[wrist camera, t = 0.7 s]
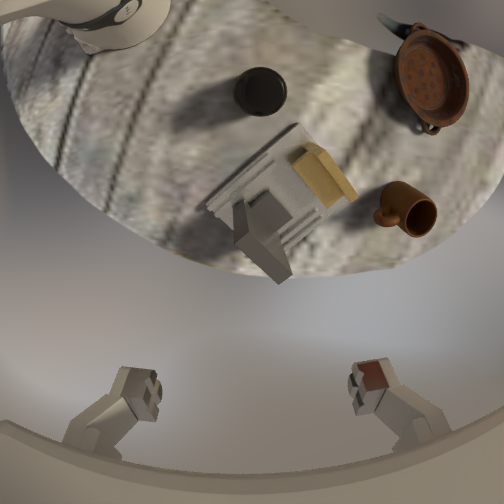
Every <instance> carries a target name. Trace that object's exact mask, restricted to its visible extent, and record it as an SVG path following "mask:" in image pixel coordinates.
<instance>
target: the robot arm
mask: <svg viewBox="0 0 504 504" xmlns="http://www.w3.org/2000/svg"><path fill="white" fill-rule="evenodd" d="M169 8H170V0H0V26H1V25H3V24H6V23H8V22H11V21H14V20H17V19H20V18H24V17H30V16H39V17H46V18H51V19H55V20H56V21H57V23H58V24H60V25H61V26H66V27H67V29H66V32H67V33H68V34H70V35H71V34H73V35H74V39H75V40H77V41H78V43H79V44H80V46H81V47H82V49H83V50H84V52H85V53H87V54H89V55H91V54H95V53H98V52H100V51H102V50H106V49H124V48H128V47H131V46H134V45H136V44H139V43H140V42H142V41H144V40H146V39H147V38H148V37H150V36H151V35H152V34H153V33H154V32H155V31H157V29H158V28H159V27H160V26H161V25H162V23H163V22H164V20H165V19H166V17H167V14H168V12H169ZM352 372H353V373H352V374H350V375H349V378H348V391H349V394H350V396H351V397H353V398H354V401H353V403H352V405H353V408H354V411H355V415H356V416H359V415H364V414H370V413H374V414H375V415H376V416H377V417H378V418H379V419H380V420H381V421H382V422H383V423H385V424H386V425H387V426H388V427H389V428H390V429H391V430H392V431H393V432H394V433H395V434H397V435H398V436H399V437H400V438H399V440H398V441H397V442H396V443H395V445H394V446H393V448H392V450H393V453H391V454H387V455H383V456H380V457H376V458H371V459H367V460H363V461H358V462H354V463H349V464H344V465H338V466H332V467H326V468H319V469H312V470H304V471H295V472H282V473H265V474H219V473H202V472H190V471H180V470H171V469H165V468H158V467H151V466H146V465H140V464H135V463H130V462H126V461H121V459H122V455H121V454H120V453H119V452H118V450H117V449H116V448H115V447H114V446H115V445H116V444H117V443H118V442H119V441H120V440H121V439H122V438H123V437H124V436H125V434H126V433H127V432H128V431H129V430H130V429H131V428H132V427H133V426H134V425H135V424H136V423H137V422H138V420H141V421H149V422H156V420H157V416H158V412H159V409H158V407H157V405H158V404H159V403H160V402H161V400H162V386H161V383H160V381H159V380H157V379H156V378H157V373H156V371H155V370H150V369H141V368H133V367H124V366H122V367H121V368H120V369H119V371H118V373H117V376H116V378H115V381H114V383H113V386H112V388H111V391H110V393H109V394H106V395H104V396H103V397H102V398H100V399H99V400H98V401H96V402H95V403H94V404H92V405H91V406H90V407H88V408H87V409H86V410H84V411H83V412H82V413H80V414H79V415H78V416H76V417H75V418H74V419H72V420H71V421H70V423H69V426H68V428H67V431H66V433H65V436H64V438H63V441H62V443H60V442H58V441H55V440H52V439H50V438H47V437H45V436H42V435H40V434H37V433H35V432H33V431H31V430H28V429H26V428H24V427H22V426H20V425H18V424H16V423H14V422H12V421H9V420H2V421H0V504H504V406H502V407H500V408H499V409H497V410H495V411H493V412H491V413H490V414H488V415H486V416H484V417H482V418H480V419H478V420H476V421H474V422H472V423H470V424H468V425H466V426H464V427H461V428H459V429H457V430H455V431H452V430H451V428H450V426H449V424H448V422H447V419H446V417H445V415H444V413H443V411H442V409H440V408H439V407H437V406H436V405H434V404H432V403H431V402H430V401H428V400H426V399H425V398H423V397H422V396H420V395H419V394H417V393H416V392H414V391H413V390H411V389H410V388H408V387H407V386H405V385H401V384H400V382H399V380H398V377H397V375H396V373H395V372H394V369H393V367H392V365H391V363H390V361H389V359H388V358H381V359H374V360H368V361H362V362H356V363H354V364H353V365H352Z"/></svg>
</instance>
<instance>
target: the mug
mask: <svg viewBox="0 0 504 504" xmlns="http://www.w3.org/2000/svg"><path fill="white" fill-rule="evenodd" d="M381 207H382V208H381V209H379V210H377V211H376V212H375V213H374V216H373V217H374V221H375V222H376V223H377V224H378V225H380V226H382V227H392V226H395V225H398V226H399V227H400V228H401V229H402V230H403V231H404V232H406V233H407V234H408V235H410V236H411V237H422V236H424V235H426V234H427V233H428V232H429V231H430V230H431V229H432V227H433V226H434V224H435V221H436V218H437V208H436V205H435V203H434V202H433V201H432V200H431V199H430V198H428V197H427V196H426V195H424V194H423V193H421V192H420V191H418V190H417V189H415V188H413V187H412V186H410V185H408V184H407V183H405V182H401V181H396V182H393V183H391V184H389V185H388V186H387V187H386V188H385V189H384V191H383V193H382V196H381Z"/></svg>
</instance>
